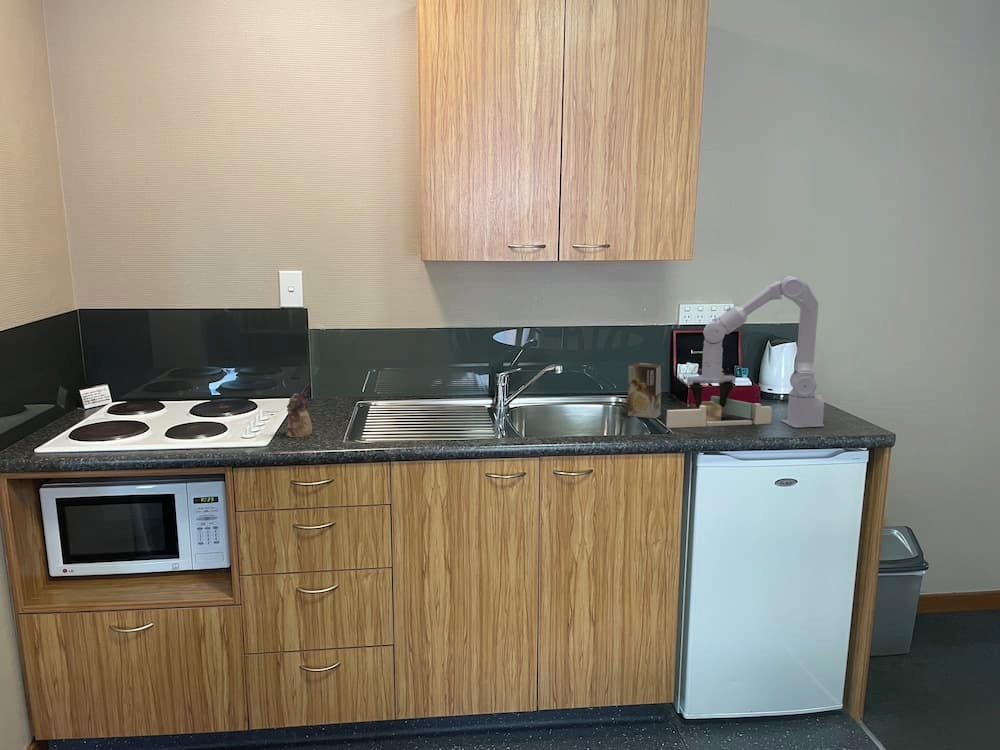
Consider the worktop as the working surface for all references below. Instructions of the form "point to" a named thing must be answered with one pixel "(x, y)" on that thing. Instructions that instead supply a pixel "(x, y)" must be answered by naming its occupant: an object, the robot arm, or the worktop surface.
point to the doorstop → (712, 411)
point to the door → (736, 407)
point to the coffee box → (644, 390)
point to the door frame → (699, 420)
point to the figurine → (298, 417)
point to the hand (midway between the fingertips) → (710, 406)
